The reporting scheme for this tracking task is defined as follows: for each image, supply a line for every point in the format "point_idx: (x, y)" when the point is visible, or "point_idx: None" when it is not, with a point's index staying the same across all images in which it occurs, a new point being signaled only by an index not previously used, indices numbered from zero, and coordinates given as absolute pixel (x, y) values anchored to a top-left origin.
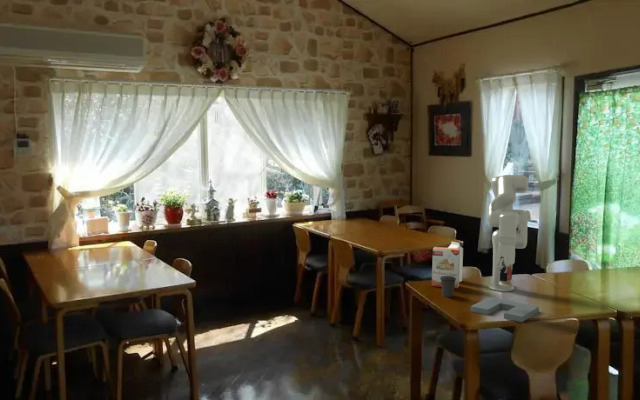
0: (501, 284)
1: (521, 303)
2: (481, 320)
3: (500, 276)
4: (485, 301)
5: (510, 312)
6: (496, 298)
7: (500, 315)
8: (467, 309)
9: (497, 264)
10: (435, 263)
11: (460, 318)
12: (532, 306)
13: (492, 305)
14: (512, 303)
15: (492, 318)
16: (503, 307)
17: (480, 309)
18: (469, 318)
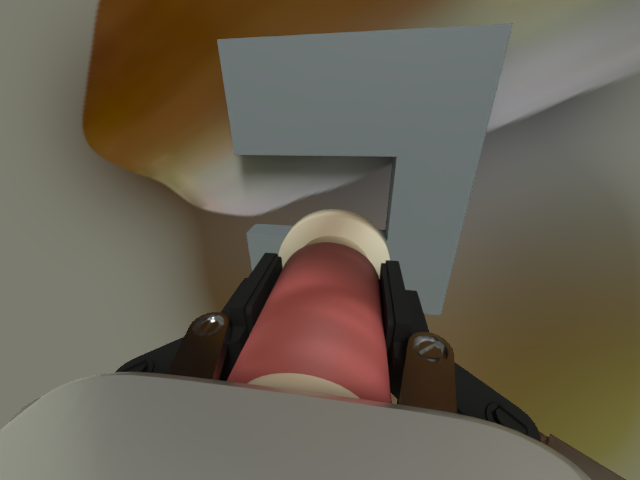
0: (281, 248)
1: (452, 246)
2: (165, 163)
3: (252, 278)
4: (375, 62)
5: (272, 252)
6: (495, 88)
7: (283, 198)
8: (251, 4)
9: (58, 400)
10: None
11: (105, 70)
12: (425, 295)
13: (319, 141)
14: (426, 212)
15: (222, 188)
16: (392, 171)
17: (231, 111)
18: (141, 106)
